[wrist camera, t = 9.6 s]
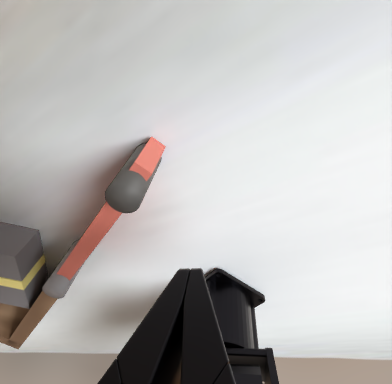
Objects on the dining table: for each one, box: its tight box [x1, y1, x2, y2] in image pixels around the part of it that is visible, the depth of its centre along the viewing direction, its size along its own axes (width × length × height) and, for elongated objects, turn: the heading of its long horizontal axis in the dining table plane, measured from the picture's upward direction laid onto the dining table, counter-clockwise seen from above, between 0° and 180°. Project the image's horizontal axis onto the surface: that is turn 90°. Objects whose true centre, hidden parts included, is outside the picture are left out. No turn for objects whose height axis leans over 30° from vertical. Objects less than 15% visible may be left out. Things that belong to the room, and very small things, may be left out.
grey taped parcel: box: [0, 222, 48, 309], centre depth 25 cm, size 6×8×4 cm
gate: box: [42, 137, 166, 299], centre depth 19 cm, size 15×2×6 cm, turn 143°
